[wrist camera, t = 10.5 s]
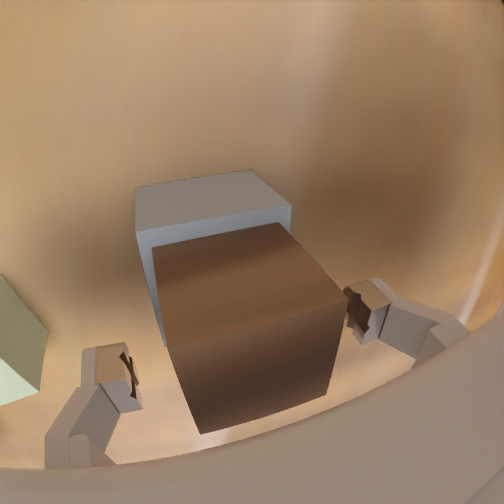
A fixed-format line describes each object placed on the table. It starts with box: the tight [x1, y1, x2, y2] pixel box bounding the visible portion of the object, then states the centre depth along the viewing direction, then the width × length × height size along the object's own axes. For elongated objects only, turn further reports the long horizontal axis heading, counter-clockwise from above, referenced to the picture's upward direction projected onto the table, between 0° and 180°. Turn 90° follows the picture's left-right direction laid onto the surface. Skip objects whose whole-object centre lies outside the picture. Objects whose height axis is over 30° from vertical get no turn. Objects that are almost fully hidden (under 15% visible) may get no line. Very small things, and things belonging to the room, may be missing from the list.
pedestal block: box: [135, 170, 292, 347], centre depth 15 cm, size 6×6×5 cm
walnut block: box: [151, 222, 349, 435], centre depth 11 cm, size 5×5×5 cm
